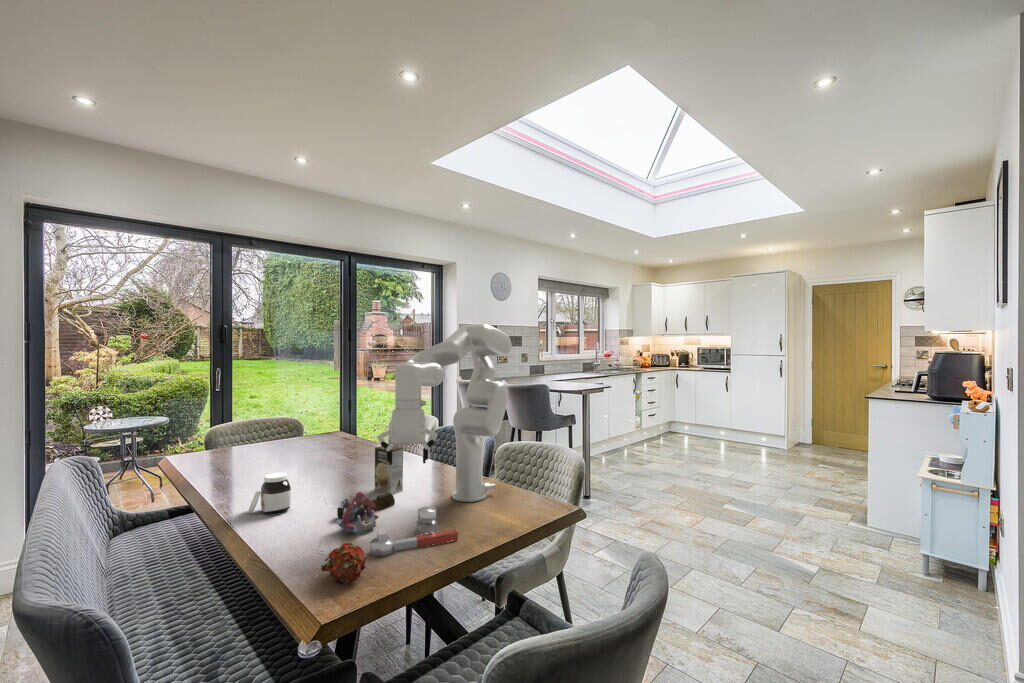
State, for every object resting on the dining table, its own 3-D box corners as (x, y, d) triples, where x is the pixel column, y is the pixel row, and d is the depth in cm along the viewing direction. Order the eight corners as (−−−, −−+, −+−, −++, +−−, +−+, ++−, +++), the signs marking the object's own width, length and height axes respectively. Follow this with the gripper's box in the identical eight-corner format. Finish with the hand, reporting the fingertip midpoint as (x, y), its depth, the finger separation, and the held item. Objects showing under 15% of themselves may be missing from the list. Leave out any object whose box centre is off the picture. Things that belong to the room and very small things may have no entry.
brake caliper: (358, 532, 123) (341, 493, 128) (338, 549, 128) (322, 510, 132) (390, 519, 133) (374, 483, 137) (370, 535, 138) (355, 499, 142)
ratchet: (453, 534, 128) (453, 516, 128) (459, 542, 123) (459, 524, 123) (368, 549, 118) (368, 530, 119) (371, 559, 113) (371, 539, 113)
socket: (433, 525, 134) (433, 505, 135) (438, 532, 130) (438, 511, 130) (416, 528, 132) (416, 508, 132) (420, 535, 128) (420, 513, 128)
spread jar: (294, 511, 146) (294, 475, 146) (255, 521, 138) (256, 483, 138) (280, 503, 154) (280, 468, 154) (243, 511, 146) (243, 475, 146)
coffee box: (373, 490, 167) (373, 447, 167) (386, 486, 173) (386, 444, 173) (390, 495, 162) (390, 450, 163) (403, 490, 168) (404, 447, 168)
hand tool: (341, 522, 138) (341, 507, 138) (336, 518, 141) (336, 503, 141) (398, 508, 150) (398, 494, 150) (392, 504, 153) (392, 491, 153)
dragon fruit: (355, 598, 98) (332, 586, 107) (382, 563, 104) (358, 554, 112) (330, 573, 96) (308, 562, 104) (359, 539, 101) (336, 531, 109)
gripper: (437, 403, 139) (436, 458, 139) (378, 404, 135) (378, 461, 135) (438, 406, 132) (437, 464, 131) (376, 407, 128) (376, 467, 128)
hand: (407, 463), depth 133 cm, fingers open, 9 cm apart
